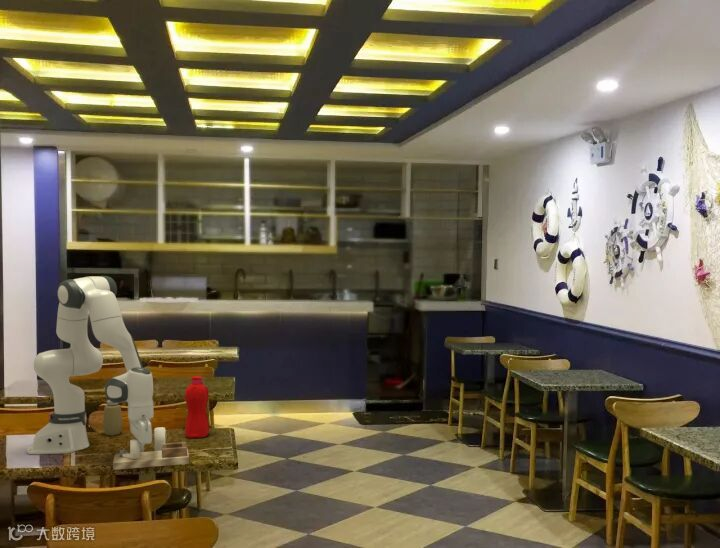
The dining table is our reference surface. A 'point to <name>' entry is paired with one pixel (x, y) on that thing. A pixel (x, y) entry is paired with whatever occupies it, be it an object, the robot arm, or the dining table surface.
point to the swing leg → (132, 450)
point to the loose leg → (159, 438)
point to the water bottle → (197, 409)
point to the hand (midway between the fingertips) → (141, 450)
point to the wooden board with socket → (155, 457)
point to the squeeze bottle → (112, 419)
